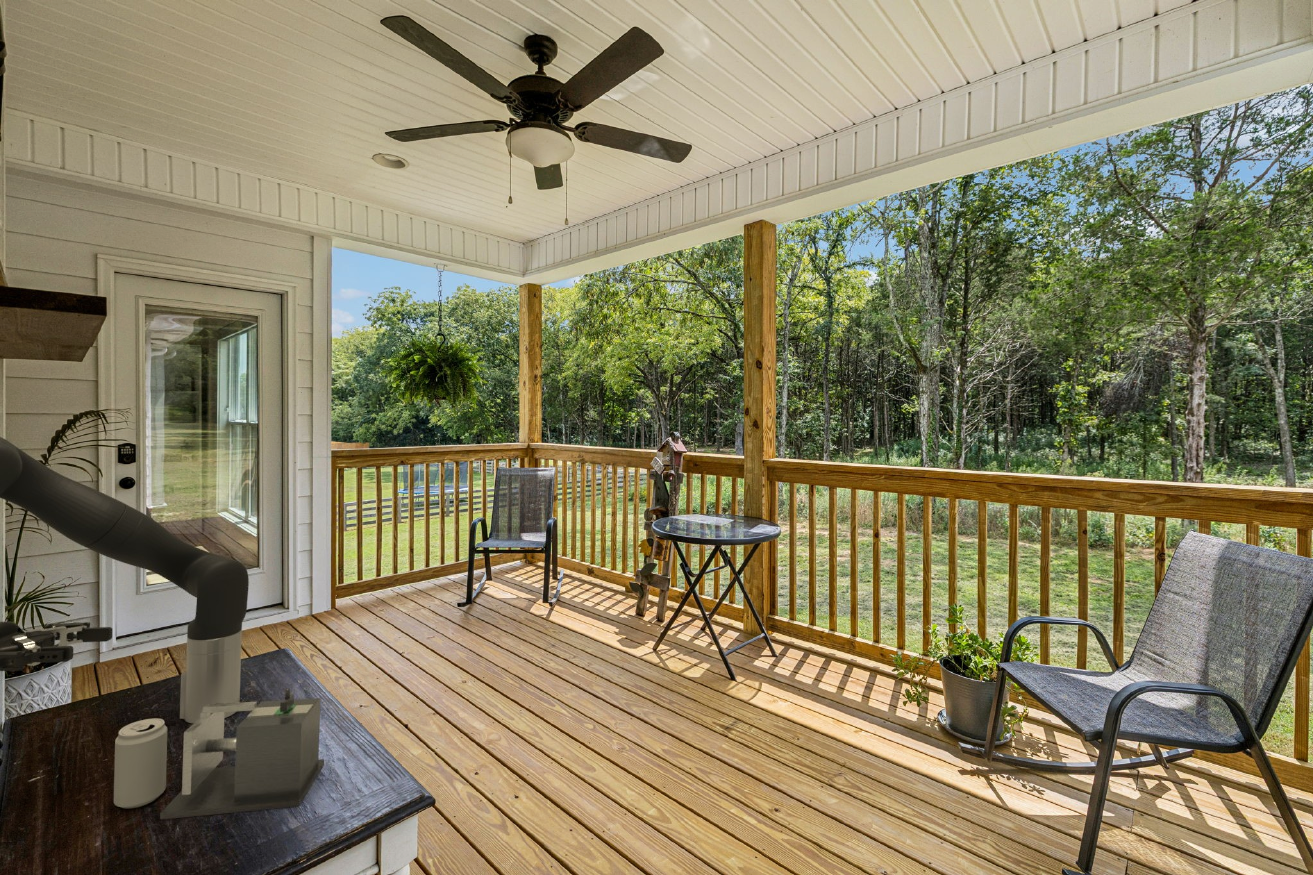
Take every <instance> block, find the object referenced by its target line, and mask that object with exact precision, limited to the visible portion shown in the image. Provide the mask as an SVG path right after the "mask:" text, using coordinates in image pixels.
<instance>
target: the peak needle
mask: <svg viewBox="0 0 1313 875" xmlns="http://www.w3.org/2000/svg"><path fill="white" fill-rule="evenodd" d="M294 700H295V694H294V693H293V694H291V688H289V687H288V688H285V689H284V698H283V699H282V701H281V703H280V712H287V711H288V709H289V708H290V707H291V706H292V705H293V704H294Z"/></svg>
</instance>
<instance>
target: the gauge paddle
mask: <svg viewBox="0 0 1313 875" xmlns="http://www.w3.org/2000/svg"><path fill="white" fill-rule="evenodd" d="M257 706H258V701H249V702H248V701H247V702H246V701H245V702H239V703H225V702H224V703H216V704H207V705H205V706H204V707H203V711H202V712H201V713H200V718H199V719H198V720H197V721H196V722H195V723H192V724H191V725H190V727H188V728H187V729H186V730H185V731H184V732H183V748H182V749H183V752H182V782H181V783H182V784H181V785H182V786H181V787H182V788H181V791H182V795H188V794H191V793H192V792H193V791H194V790H195V789H196V788H197V787H198V786H199V785H200V783H201V782H202V781H203V780H204V779H205V778H206V777H207V776H208V775H209V774H210V773H211V771H212V770H213V769H214V768H217V766H218V765H220V763H221V761H223V759H224V752H234V751H235V752H236V737H227V738H226V737H225V738H224V733H225V718H224V712H234V711H237V712H244V711H245V712H247V711H249V712H251V711H253V710H255V709H256V708H257Z"/></svg>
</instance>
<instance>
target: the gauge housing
mask: <svg viewBox="0 0 1313 875" xmlns="http://www.w3.org/2000/svg"><path fill="white" fill-rule="evenodd" d="M282 700H283V699H282ZM282 700H266V701H265V700H263V701H260V703H258V704H257V708H256V709H255V710H251V711H250V713H249V714H248V715H246V717H245V718H244V719H243V720H241V722H240V723H239V724H237V726H236V731H235V732H236V733H235V734H236V735H235V738H236V751H235V761H234V762H235V763H234V765H233V766H231V765H230V766H222V767H215V768H214V769H213V770H212V771H211V773H210V774H209V775H208V776H207V777H206V778H205V779H204V780H203V781H202V782H201V783H200V785H199V786H198V787H197V788H196V789H195V790H194V791H193V792H192V793H191V794H188V795H182V790H181V791H180V792H179V793H178V794H177V795H176V796H175V797H174V798H173V799H172V800H171V801H170V802H169V804H167V806H166V807H164V809H163V810H162V811H161V812H160V814H159V816H160V817H159V820H160V821H161V820H170V819H179V818H180V819H181V818H190V817H192V818H193V817H201V816H202V817H203V816H211V815H212V816H213V815H222V814H232V813H233V814H234V813H244V812H253V811H254V812H255V811H266V810H273V809H274V810H275V809H287V808H295V807H297V808H298V807H300V805H301V804H302V802H303V800H304V799H305V797H306V795H307V794H308V792H309V791H310V789H311V788H312V785H313V783H314V782H315V780H316V778H317V777H318V775H319V774H320V772H321V770H322V769H323V767H324V765H325V759H324V758H322V759H319V751H320V723H321V701H322V700H321V697H320V698H318V697H317V698H316V697H314V698H302V699H301V698H299V699H294V704H293V705H292V706H291V707H290V708H289V709H288V711H287V712H280V703H281V701H282Z"/></svg>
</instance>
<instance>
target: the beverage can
mask: <svg viewBox="0 0 1313 875" xmlns="http://www.w3.org/2000/svg"><path fill="white" fill-rule="evenodd" d="M167 747H168V726H166V724H165V720H164V719H163V718H146V719H143V720H142V719H141V720H137V721H134V722H131V723H129V724H127V725H125V726H123V727H121V729H120V730H118V736H117V737H116V738H115V743H114V775H113V779H114V780H113V804H114V806H116V807H120V808H122V809H135V808H140V807H143V806H145V805H148V804H150V803H152V802H154V801H155V800H156V799H158V798H159V797H160V796H162V794H163V793H164V791H165V790H166V788H167V761H168V760H167V759H168V758H167V757H168V756H167V755H168V754H167V752H168V750H167V749H168V748H167Z"/></svg>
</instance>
